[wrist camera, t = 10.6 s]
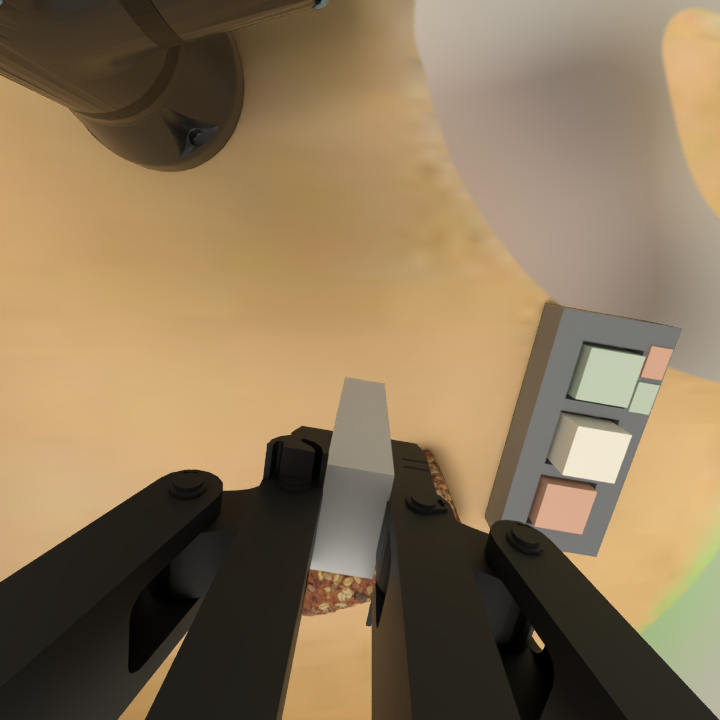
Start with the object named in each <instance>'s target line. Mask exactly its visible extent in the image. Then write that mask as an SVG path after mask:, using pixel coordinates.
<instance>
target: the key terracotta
mask: <svg viewBox="0 0 720 720" xmlns="http://www.w3.org/2000/svg"><path fill="white" fill-rule="evenodd" d="M596 494H597V491H596V490H595V489H594V488H593V487H592V486H591V485H590V484H589V483H588V482H584V481H578V480H572V479H566V478H560V477H554V476H548V475H543V474H541V476H540V480H539V483H538V486H537V489H536V492H535V495H534V499H533V502H532V505H531V508H530V511H529V514H528V517H529V519H530V521H531V522H532V524H533V525H534V527H540V528H546V529H552V530H558V531H564V532H570V533H576V534H582V533H583V530H584V528H585V525H586V522H587V519H588V516H589V514H590V511H591V508H592V505H593V503H594V500H595V497H596Z"/></svg>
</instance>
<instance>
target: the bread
mask: <svg viewBox="0 0 720 720" xmlns="http://www.w3.org/2000/svg"><path fill="white" fill-rule="evenodd" d="M424 452H425V454H426V457H427V461H428V464H429V468H430V472H431V475H432V478H433V482H434V485H435V489H436V492H437V494H438V495H440V496H441V497H442V498H444V499H445V500H446V501H447V502H448V503H449V504H450V506H451V508H452V509H453V512H454V515H455V518H456V520H457V521H459V522H460V519H459V517H458V514H457V511H456V509H455V506H454V504H453V501H452V498H451V496H450V493H449V490H448V488H447V485H446V483H445V480H444V478H443V475H442V472H441V470H440V468H439V466H438V463H437V462H436V460H435V457H434V455H433V454H432V453H431V452H430V451H426V450H425V451H424ZM460 523H461V522H460ZM375 581H376V565H375V570H374V574H373V579H368V578H362V577H356V576H350V575H343V574H337V573H331V572H325V571H319V570H313V569H310V572H309V578H308V584H307V590H306V595H305V600H304V605H303V610H302V614H303V616H315V615H321V614H327V613H334V612H335V611H336V610H339V609H344V608H347V607H354V606H356V605H358V604H363V603H365V602H370V600H371V599H372V594H373V590H374V585H375Z"/></svg>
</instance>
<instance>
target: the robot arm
mask: <svg viewBox="0 0 720 720" xmlns="http://www.w3.org/2000/svg"><path fill="white" fill-rule="evenodd" d="M329 1H330V0H0V75H2V76H4V77H6V78H8V79H10V80H12V81H14V82H16V83H18V84H20V85H22V86H24V87H26V88H28V89H31V90H33V91H35V92H37V93H39V94H41V95H43V96H45V97H47V98H49V99H51V100H53V101H55V102H57V103H59V104H61V105H63V106H66V107H68V108H69V109H70V110H71V111H72V112H73V114H74V115H75V116H76V117H77V118H78V119H79V120H80V121H81V122H82V123H83V124H84V125H85V127H86V128H87V129H88V130H89V132H90V133H91V134H92V135H93V136H94V137H95V138H96V139H97V140H98V141H99V142H100V143H101V144H103V145H104V146H105V147H107V148H108V149H109V150H111V151H112V152H114V153H115V154H117V155H119V156H120V157H122V158H124V159H126V160H128V161H131V162H133V163H136V164H138V165H140V166H143V167H146V168H149V169H153V170H158V171H168V172H171V171H182V170H187V169H190V168H193V167H196V166H198V165H200V164H202V163H204V162H206V161H207V160H209V159H210V158H212V157H213V156H214V155H215V154H216V153H218V152H219V151H220V150H221V148H222V147H223V146H224V145H225V144H226V142H227V141H228V139H229V138H230V136H231V135H232V133H233V131H234V129H235V127H236V124H237V122H238V119H239V116H240V112H241V108H242V103H243V92H244V81H243V71H242V65H241V60H240V57H239V53H238V50H237V47H236V45H235V42H234V40H233V38H232V36H231V34H230V32H229V31H231V30H235V29H238V28H242V27H245V26H249V25H252V24H256V23H259V22H262V21H266V20H269V19H273V18H276V17H280V16H283V15H287V14H290V13H294V12H297V11H300V10H304V9H307V8H311V7H312V8H313V9H314V10H317V9H322V8H323V7H325V6H326V5H327V3H328V2H329ZM375 565H376V581H375V585H374V590H373V594H372V599H371V604H370V608H369V613H368V618H367V622H366V626H371V624H372V720H719V719H718V718H717V717H716V716H715V715H714V714H713V713H712V712H711V710H710V709H709V708H708V707H707V706H706V705H705V704H704V703H703V702H702V701H701V700H700V699H699V698H698V697H697V696H696V694H695V693H694V692H693V691H692V690H691V689H690V688H689V687H688V686H687V685H686V684H685V683H684V682H683V681H682V679H680V677H679V676H678V675H677V674H676V673H675V672H674V671H673V670H672V669H671V668H670V667H669V666H668V665H667V664H666V662H665V661H664V660H663V659H662V658H661V657H660V656H659V655H658V654H657V653H656V652H655V651H654V650H653V649H652V647H651V646H650V645H648V643H647V642H646V641H645V640H644V639H643V638H642V637H641V636H640V635H639V634H638V633H637V631H636V630H635V629H634V628H633V627H632V626H631V625H630V624H629V623H628V622H627V621H626V620H625V619H624V618H623V617H622V615H621V614H620V613H619V612H618V611H617V610H616V609H615V608H614V607H613V606H612V605H611V604H610V603H609V602H608V600H607V599H606V598H605V597H604V596H603V595H602V594H601V593H600V592H599V591H598V590H597V589H596V588H595V587H594V586H593V584H592V583H591V582H590V581H589V580H588V579H587V578H586V577H585V576H584V575H583V574H582V573H581V572H580V571H579V570H578V568H577V567H576V566H575V565H574V564H573V563H572V562H571V561H570V560H569V559H568V558H567V557H566V556H565V555H564V554H563V552H562V551H561V550H560V549H559V548H558V547H557V546H556V545H555V544H554V543H553V542H552V541H551V540H550V539H549V538H548V537H546V536H545V535H544V534H543V533H542V532H540V531H538V530H536V529H535V528H533V527H532V526H530V525H528V524H525V523H523V522H519V521H512V520H500V521H496V522H495V523H494V524H493V525H491V528H490V532H489V534H487V533H485V532H482V531H479V530H477V529H474V528H471V527H469V526H467V525H464V524H462V523H460V522H459V521H457V520H456V518H455V515H454V512H453V509H452V508H451V506H450V504H449V503H448V502H447V501H446V500H445V499H444V498H442V497H441V496H440V495H438V494H437V492H436V489H435V485H434V482H433V478H432V475H431V472H430V468H429V464H428V461H427V457H426V454H425V452H424V451H423V450H422V449H421V448H420V447H419V446H418V445H417V444H414V443H408V442H402V441H396V440H391V439H390V429H389V420H388V411H387V402H386V393H385V384H383V383H377V382H371V381H365V380H359V379H354V378H348V377H345V380H344V385H343V389H342V394H341V399H340V403H339V408H338V412H337V417H336V421H335V426H334V430H333V431H329V430H323V429H317V428H312V427H306V426H301V427H300V428H298V429H296V430H295V431H293V432H292V433H291V435H286V436H280V437H277V438H274V439H272V440H271V441H270V442H269V443H268V444H267V451H266V459H265V467H264V475H263V480H262V482H261V484H260V486H258V487H255V488H251V489H246V490H235V491H223V483H222V481H221V480H220V479H219V478H218V476H216V475H214V474H212V473H210V472H206V471H200V470H182V471H178V472H173V473H170V474H168V475H166V476H164V477H161V478H160V479H158V480H157V481H155V482H153V483H152V484H150V485H149V486H147V487H146V488H144V489H143V490H141V491H140V492H138V493H137V494H135V495H133V496H132V497H130V498H129V499H127V500H126V501H124V502H123V503H121V504H120V505H118V506H117V507H115V508H114V509H112V510H110V511H109V512H107V513H106V514H104V515H103V516H101V517H100V518H98V519H97V520H95V521H94V522H92V523H90V524H89V525H87V526H86V527H84V528H83V529H81V530H80V531H78V532H77V533H75V534H74V535H72V536H71V537H69V538H67V539H66V540H64V541H63V542H61V543H60V544H58V545H57V546H55V547H54V548H52V549H51V550H49V551H48V552H46V553H44V554H43V555H41V556H40V557H38V558H37V559H35V560H34V561H32V562H31V563H29V564H28V565H26V566H24V567H23V568H21V569H20V570H18V571H17V572H15V573H14V574H12V575H11V576H9V577H8V578H6V579H5V580H3V581H1V582H0V720H118V718H119V717H120V716H121V715H122V713H123V712H124V711H125V709H126V708H127V707H128V706H129V704H130V703H131V702H132V701H133V699H134V698H135V697H136V696H137V694H138V693H139V692H140V691H141V689H142V688H143V687H144V686H145V684H146V683H147V682H148V680H149V679H150V678H151V677H152V675H153V674H154V673H155V672H156V670H157V669H158V668H159V667H160V665H161V664H162V663H163V662H164V660H165V659H166V658H167V657H168V655H169V654H170V653H171V651H172V650H173V649H174V648H175V646H176V645H177V644H178V643H179V641H180V640H181V639H182V638H183V636H184V635H185V634H186V633H187V631H188V630H189V631H188V633H187V635H186V637H185V639H184V641H183V643H182V645H181V647H180V649H179V651H178V653H177V655H176V657H175V659H174V661H173V663H172V665H171V667H170V669H169V672H168V674H167V676H166V678H165V680H164V682H163V684H162V686H161V688H160V690H159V692H158V694H157V696H156V698H155V700H154V702H153V704H152V706H151V708H150V710H149V712H148V714H147V716H146V718H145V720H282V714H283V709H284V704H285V699H286V694H287V688H288V683H289V678H290V673H291V668H292V662H293V657H294V652H295V647H296V642H297V636H298V631H299V626H300V621H301V616H302V610H303V605H304V600H305V595H306V590H307V584H308V578H309V572H310V569H313V570H319V571H325V572H331V573H337V574H343V575H350V576H356V577H362V578H368V579H373V574H374V570H375ZM534 630H535V631H536V633H537V634H538V636H539V637H540V639H541V640H542V642H543V643H544V644H545V647H544V649H543V650H541V648H540V647H539V646H538V645H537V643H536V642H535V640H534V639H533V637H532V634H533V631H534Z"/></svg>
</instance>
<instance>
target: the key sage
mask: <svg viewBox="0 0 720 720" xmlns="http://www.w3.org/2000/svg"><path fill="white" fill-rule="evenodd" d="M645 358H646V357H645V356H642V355H639V354H636V353H633V352H630V351H627V350H625V349H621V348H616V347H610V346H604V345H598V344H593V343H587V342H583V343H582V347H581V350H580V353H579V356H578V359H577V362H576V366H575V369H574V372H573V375H572V378H571V381H570V385H569V388H568V391H567V394H569V395H570V396H572V397H573V398H575V399H578V400H584V401H590V402H596V403H602V404H607V405H613V406H619V407H625V408H628V405H629V402H630V399H631V397H632V394H633V391H634V388H635V385H636V383H637V380H638V377H639V374H640V372H641V369H642V366H643V363H644V360H645Z"/></svg>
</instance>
